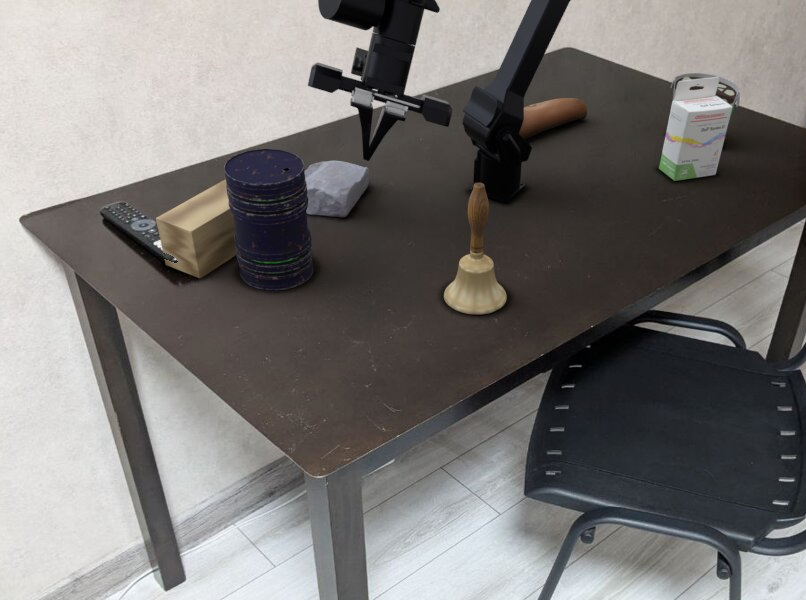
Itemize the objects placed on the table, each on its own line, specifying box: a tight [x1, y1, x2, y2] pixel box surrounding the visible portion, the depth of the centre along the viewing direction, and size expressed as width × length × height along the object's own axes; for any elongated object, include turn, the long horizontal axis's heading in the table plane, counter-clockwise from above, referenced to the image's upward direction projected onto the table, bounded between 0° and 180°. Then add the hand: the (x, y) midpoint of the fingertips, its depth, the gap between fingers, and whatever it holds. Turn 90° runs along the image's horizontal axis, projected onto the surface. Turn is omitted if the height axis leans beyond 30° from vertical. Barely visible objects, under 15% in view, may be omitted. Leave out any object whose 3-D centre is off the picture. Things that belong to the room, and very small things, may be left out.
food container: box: [669, 72, 741, 121], centre depth 159 cm, size 12×6×10 cm, turn 58°
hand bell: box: [443, 183, 508, 316], centre depth 115 cm, size 8×8×16 cm
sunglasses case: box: [519, 97, 588, 141], centre depth 160 cm, size 18×7×7 cm
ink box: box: [658, 77, 732, 182], centre depth 146 cm, size 9×5×15 cm, turn 114°
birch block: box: [155, 178, 237, 279], centre depth 123 cm, size 6×14×7 cm, turn 151°
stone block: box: [304, 159, 371, 218], centre depth 137 cm, size 12×5×10 cm
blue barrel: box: [223, 148, 314, 291], centre depth 117 cm, size 10×10×15 cm
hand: (366, 159), depth 123 cm, fingers closed
